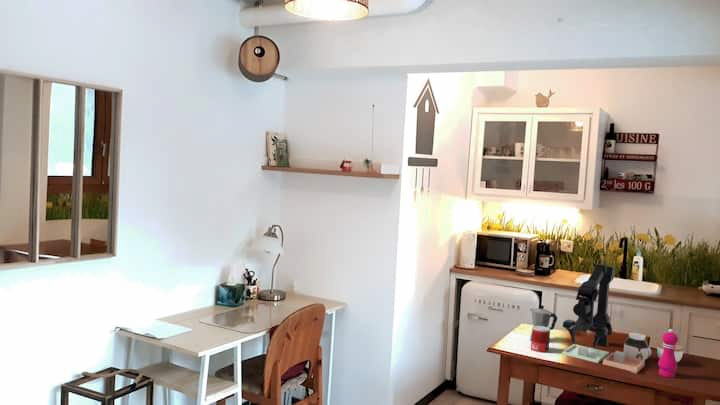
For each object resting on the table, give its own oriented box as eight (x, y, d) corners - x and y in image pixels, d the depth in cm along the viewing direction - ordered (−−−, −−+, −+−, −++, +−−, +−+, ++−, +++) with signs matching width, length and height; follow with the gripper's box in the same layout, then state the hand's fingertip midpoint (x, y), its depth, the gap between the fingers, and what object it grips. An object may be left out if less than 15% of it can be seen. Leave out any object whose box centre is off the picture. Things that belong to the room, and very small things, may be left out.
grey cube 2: (578, 354, 276) (579, 345, 275) (587, 356, 274) (588, 347, 274) (577, 356, 272) (578, 348, 272) (586, 358, 270) (587, 349, 270)
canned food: (549, 354, 275) (551, 331, 274) (531, 352, 277) (533, 329, 276) (547, 349, 282) (549, 326, 282) (529, 347, 284) (531, 324, 283)
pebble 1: (615, 359, 271) (616, 350, 271) (625, 361, 269) (625, 352, 268) (613, 361, 268) (614, 352, 268) (622, 363, 266) (623, 355, 265)
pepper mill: (653, 371, 259) (658, 326, 258) (669, 371, 260) (674, 326, 258) (663, 377, 252) (668, 331, 251) (679, 378, 253) (684, 331, 251)
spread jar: (623, 360, 272) (625, 335, 271) (622, 353, 283) (624, 329, 282) (652, 365, 268) (655, 339, 267) (649, 357, 279) (652, 333, 278)
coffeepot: (522, 338, 298) (525, 303, 296) (534, 336, 303) (536, 301, 302) (548, 347, 285) (551, 310, 284) (560, 344, 291) (563, 308, 290)
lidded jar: (679, 360, 277) (681, 340, 276) (684, 367, 267) (686, 347, 266) (654, 356, 280) (656, 337, 280) (657, 363, 270) (659, 343, 270)
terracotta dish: (611, 358, 275) (612, 352, 275) (644, 365, 266) (644, 360, 266) (602, 365, 264) (603, 359, 264) (636, 373, 255) (636, 368, 255)
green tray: (573, 347, 287) (574, 344, 287) (608, 355, 278) (608, 352, 277) (562, 355, 275) (562, 351, 275) (597, 364, 265) (598, 360, 265)
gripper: (559, 311, 271) (557, 344, 272) (602, 320, 259) (599, 355, 261) (568, 307, 280) (565, 339, 281) (609, 315, 268) (606, 349, 269)
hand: (583, 345), depth 273 cm, fingers open, 9 cm apart
